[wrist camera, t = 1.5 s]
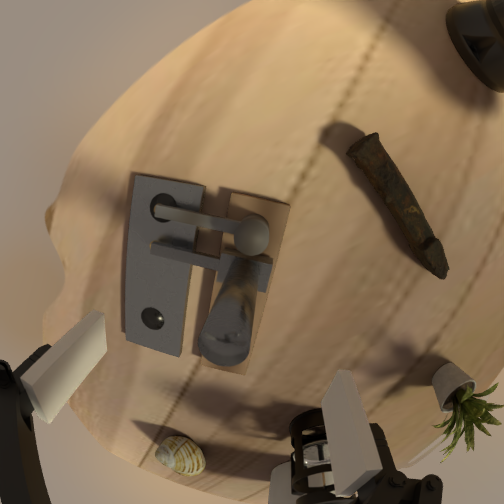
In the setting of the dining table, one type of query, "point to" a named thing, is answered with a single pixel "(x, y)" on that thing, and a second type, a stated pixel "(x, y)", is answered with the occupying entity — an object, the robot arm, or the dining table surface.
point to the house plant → (462, 404)
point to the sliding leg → (226, 299)
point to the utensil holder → (280, 484)
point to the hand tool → (400, 202)
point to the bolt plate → (158, 264)
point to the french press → (311, 461)
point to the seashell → (181, 456)
